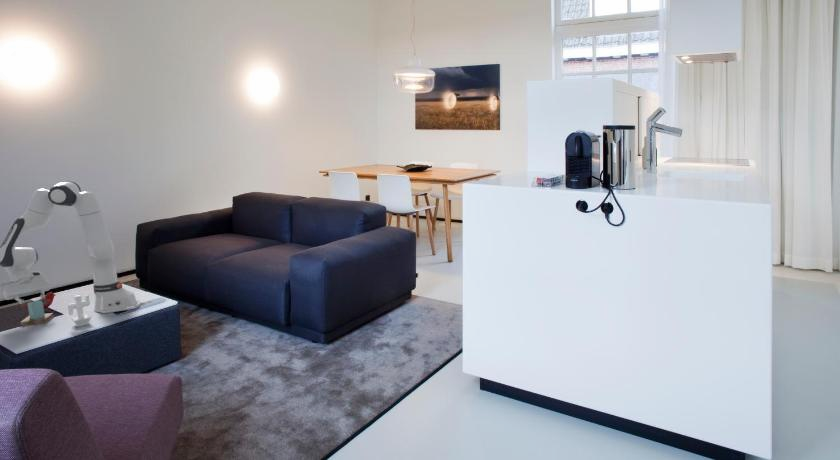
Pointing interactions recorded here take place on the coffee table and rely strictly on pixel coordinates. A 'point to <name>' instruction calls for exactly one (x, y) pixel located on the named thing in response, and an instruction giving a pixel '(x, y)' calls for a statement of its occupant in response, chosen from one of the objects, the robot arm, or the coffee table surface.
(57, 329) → the coffee table surface
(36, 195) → the robot arm
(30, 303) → the teal block
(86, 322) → the figurine
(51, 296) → the decorative bird figurine
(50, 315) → the beige square slab
